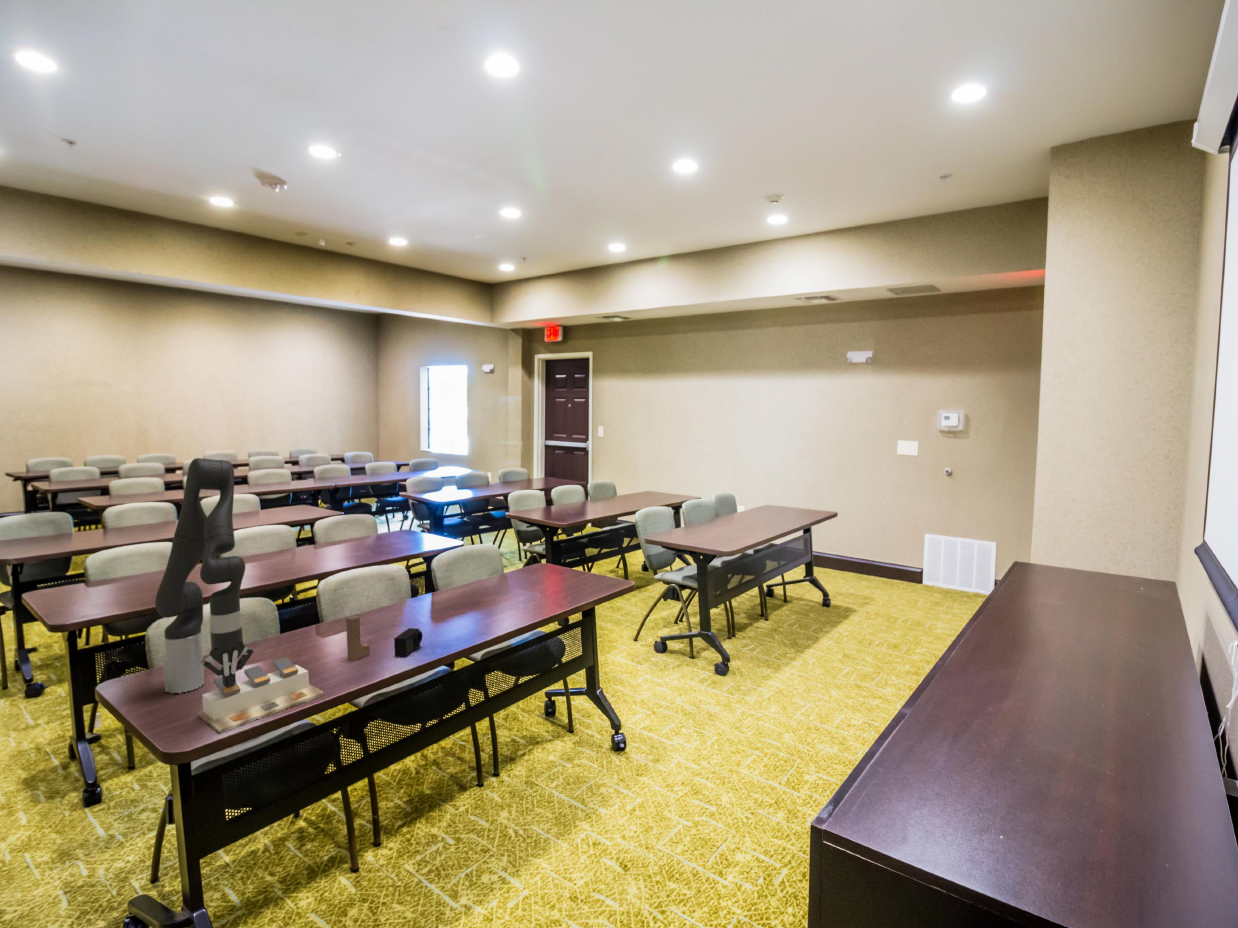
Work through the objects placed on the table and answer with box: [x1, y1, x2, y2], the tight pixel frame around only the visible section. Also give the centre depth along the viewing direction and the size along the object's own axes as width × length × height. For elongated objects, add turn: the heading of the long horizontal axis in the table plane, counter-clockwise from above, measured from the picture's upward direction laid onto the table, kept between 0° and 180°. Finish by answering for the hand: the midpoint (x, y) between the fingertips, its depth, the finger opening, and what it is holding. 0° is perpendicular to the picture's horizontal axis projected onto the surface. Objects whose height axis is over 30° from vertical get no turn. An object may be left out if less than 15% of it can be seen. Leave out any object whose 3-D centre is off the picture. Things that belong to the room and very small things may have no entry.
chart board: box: [198, 683, 325, 734], centre depth 177 cm, size 28×16×1 cm, turn 142°
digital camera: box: [393, 627, 423, 659], centre depth 217 cm, size 10×5×7 cm, turn 170°
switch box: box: [201, 664, 310, 720], centre depth 179 cm, size 26×8×6 cm, turn 142°
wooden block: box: [345, 614, 371, 662], centre depth 212 cm, size 7×3×15 cm, turn 145°
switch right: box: [272, 656, 298, 677], centre depth 185 cm, size 4×8×1 cm, turn 52°
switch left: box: [213, 676, 240, 697], centre depth 172 cm, size 4×8×1 cm, turn 52°
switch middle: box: [243, 665, 270, 687], centre depth 179 cm, size 4×8×1 cm, turn 52°
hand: (229, 686), depth 170 cm, fingers closed
